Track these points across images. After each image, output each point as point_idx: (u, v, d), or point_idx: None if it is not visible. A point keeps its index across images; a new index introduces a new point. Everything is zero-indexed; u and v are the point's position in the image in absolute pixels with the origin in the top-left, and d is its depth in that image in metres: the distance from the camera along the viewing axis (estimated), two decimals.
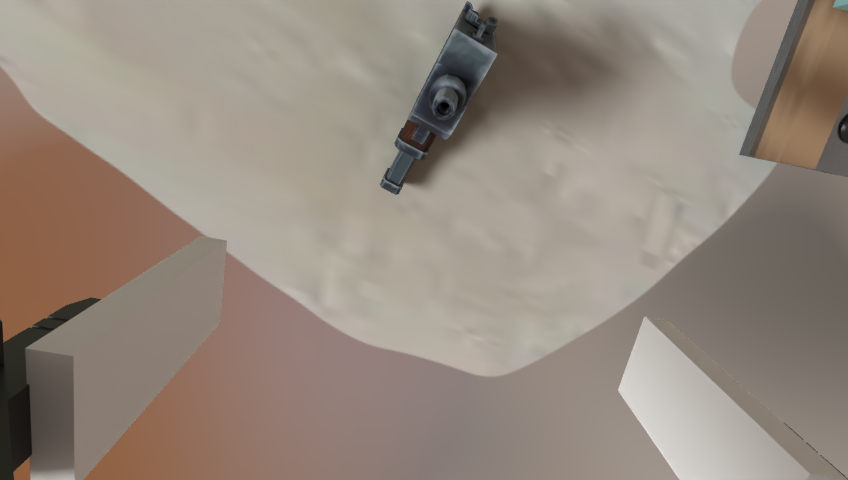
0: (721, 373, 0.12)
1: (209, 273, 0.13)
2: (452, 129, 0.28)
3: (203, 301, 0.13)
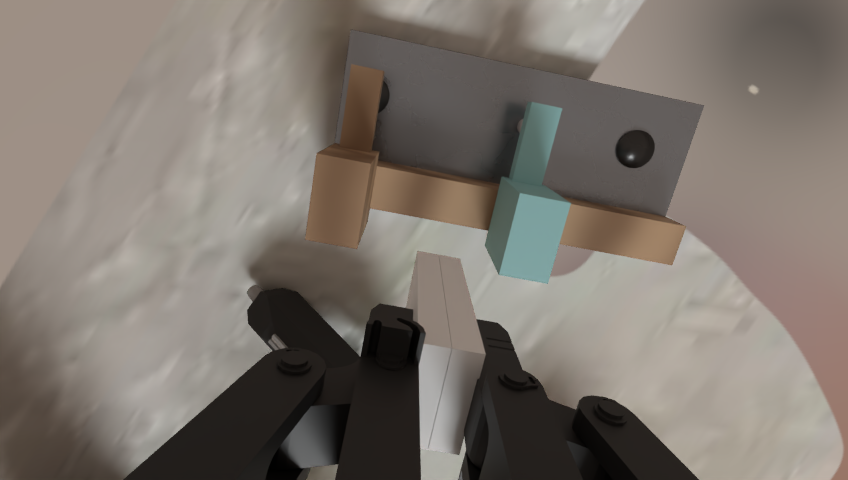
0: (462, 291, 0.14)
1: None
2: None
3: None
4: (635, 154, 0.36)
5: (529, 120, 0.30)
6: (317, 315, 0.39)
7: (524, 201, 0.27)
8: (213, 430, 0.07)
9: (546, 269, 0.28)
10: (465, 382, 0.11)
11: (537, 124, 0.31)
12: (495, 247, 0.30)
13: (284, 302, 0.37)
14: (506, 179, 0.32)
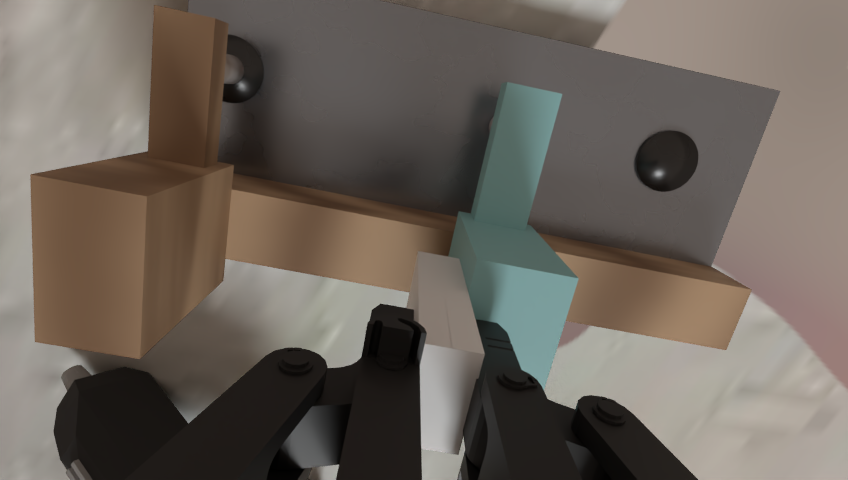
0: (461, 291, 0.14)
1: None
2: None
3: None
4: (667, 170, 0.22)
5: (503, 115, 0.17)
6: (173, 411, 0.25)
7: (486, 274, 0.14)
8: (214, 430, 0.07)
9: None
10: (464, 382, 0.11)
11: (517, 122, 0.17)
12: None
13: (112, 397, 0.24)
14: (464, 218, 0.18)
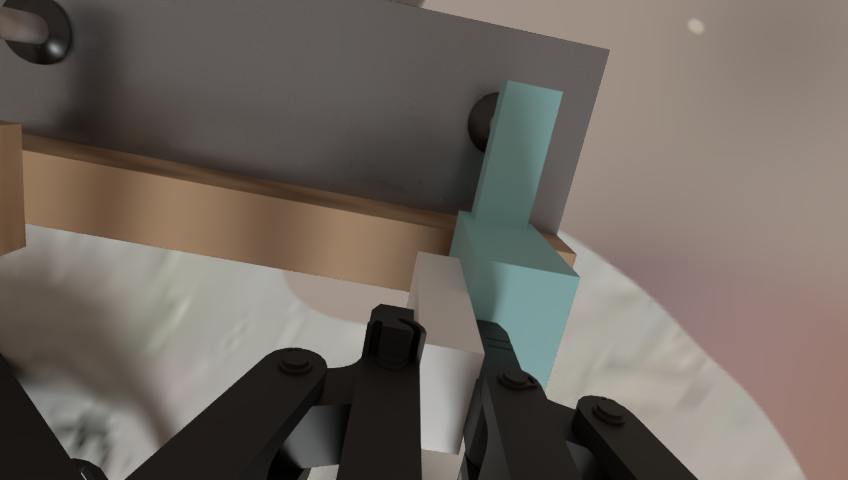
0: (461, 291, 0.14)
1: None
2: None
3: None
4: None
5: (503, 113, 0.17)
6: (15, 387, 0.25)
7: (487, 274, 0.14)
8: (214, 430, 0.07)
9: None
10: (464, 382, 0.11)
11: (518, 121, 0.17)
12: None
13: None
14: (465, 217, 0.18)
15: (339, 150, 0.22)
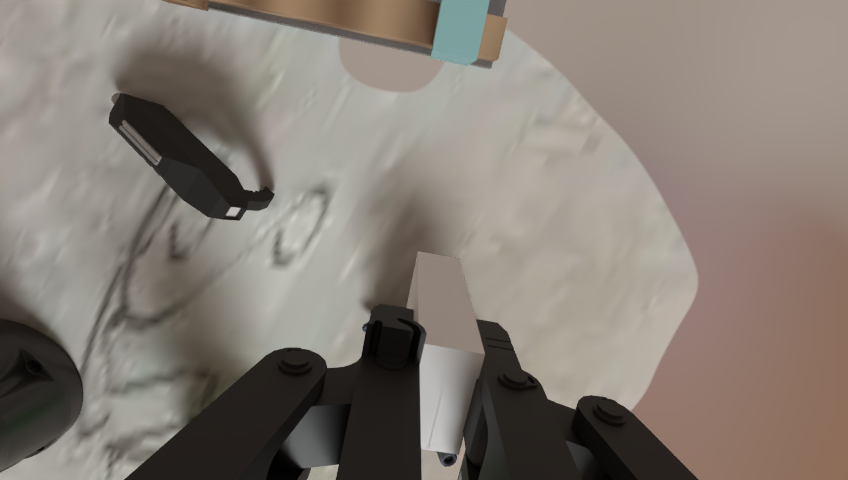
0: (461, 291, 0.14)
1: None
2: None
3: None
4: None
5: None
6: (179, 123, 0.41)
7: None
8: (214, 430, 0.07)
9: (475, 45, 0.31)
10: (464, 382, 0.11)
11: None
12: None
13: (143, 103, 0.40)
14: None
15: None
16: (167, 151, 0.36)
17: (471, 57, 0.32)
